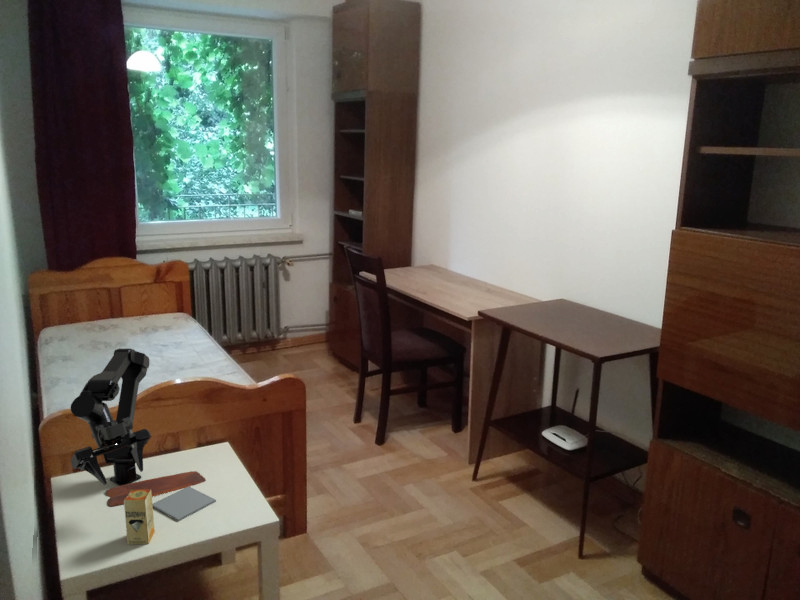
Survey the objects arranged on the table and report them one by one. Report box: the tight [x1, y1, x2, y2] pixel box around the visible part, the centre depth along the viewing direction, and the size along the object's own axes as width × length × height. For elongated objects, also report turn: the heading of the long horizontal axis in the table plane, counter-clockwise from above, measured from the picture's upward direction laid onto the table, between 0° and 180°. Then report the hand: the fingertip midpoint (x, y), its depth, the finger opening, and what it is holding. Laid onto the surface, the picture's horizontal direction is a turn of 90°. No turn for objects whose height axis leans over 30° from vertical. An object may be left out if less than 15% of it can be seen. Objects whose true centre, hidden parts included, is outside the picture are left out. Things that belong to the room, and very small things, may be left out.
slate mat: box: [152, 486, 217, 522], centre depth 172 cm, size 12×12×1 cm
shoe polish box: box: [123, 489, 156, 545], centre depth 155 cm, size 5×5×12 cm
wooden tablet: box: [105, 470, 207, 508], centre depth 181 cm, size 27×10×2 cm, turn 122°
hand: (124, 477), depth 159 cm, fingers open, 9 cm apart
